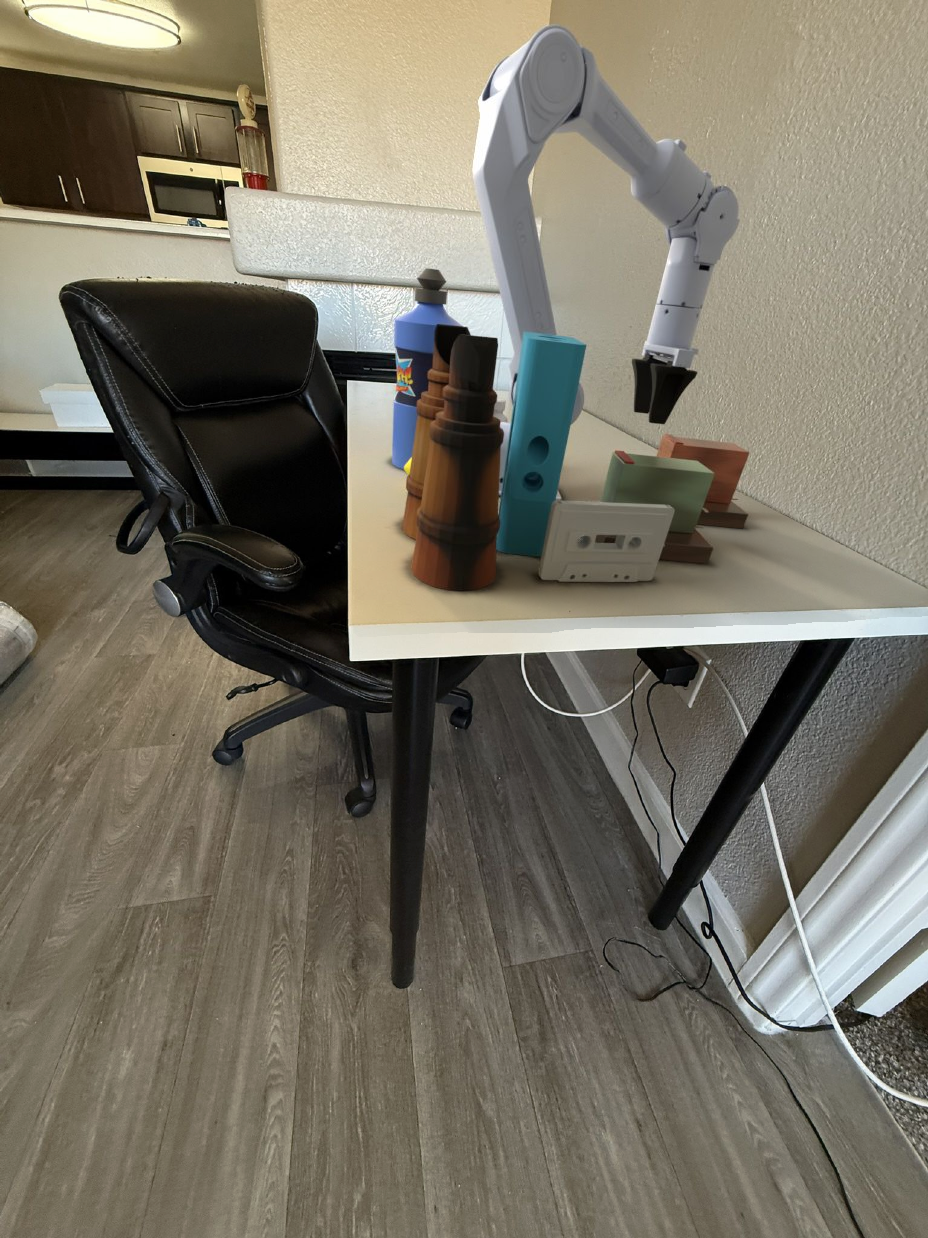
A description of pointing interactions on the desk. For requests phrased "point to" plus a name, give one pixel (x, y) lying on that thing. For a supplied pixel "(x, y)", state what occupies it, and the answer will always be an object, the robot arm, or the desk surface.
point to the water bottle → (415, 358)
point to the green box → (659, 485)
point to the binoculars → (456, 465)
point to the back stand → (722, 515)
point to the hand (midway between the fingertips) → (648, 417)
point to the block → (537, 439)
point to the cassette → (604, 562)
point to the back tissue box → (710, 462)
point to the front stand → (677, 546)
